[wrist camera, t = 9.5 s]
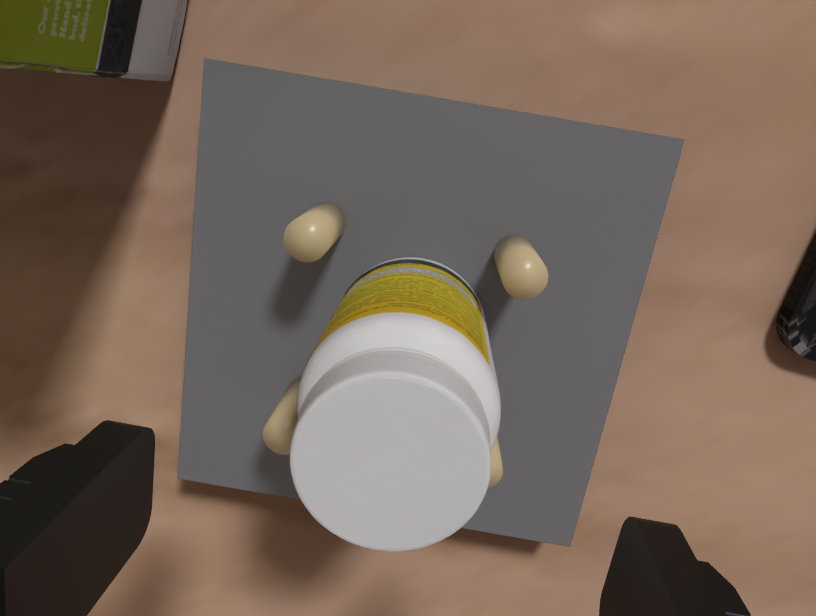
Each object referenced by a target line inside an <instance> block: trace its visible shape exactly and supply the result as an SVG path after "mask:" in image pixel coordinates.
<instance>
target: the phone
mask: <svg viewBox="0 0 816 616" xmlns="http://www.w3.org/2000/svg"><path fill="white" fill-rule="evenodd" d="M776 322H777V333H778V335H779V337H780V340H781V341H782V342H783V343H784V344H785V345H786V346H787V347H788V348H790V349H791V350H793V351H794V352H796V353H797V354H799V355H800V356H803V357H805V358H807V359H809V360H813V361H816V235H815V237H814V239H813V241H812V243H811V246H810V248H809V250H808V252H807V254H806V256H805V258H804V260H803V262H802V265H801V267H800V269H799V271H798V273H797V275H796V277H795V279H794V282H793V284H792V286H791V288H790V290H789V292H788V294H787V296H786V299H785V301H784V303H783V305H782V307H781V309H780V311H779V315H778V318H777V321H776Z"/></svg>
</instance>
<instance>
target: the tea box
mask: <svg viewBox="0 0 816 616" xmlns="http://www.w3.org/2000/svg"><path fill="white" fill-rule="evenodd" d="M186 7H187V0H0V68H2V69H26V70H37V71H48V72H55V73H69V74H81V75H87V76H101V77H113V78H128V79H138V80H154V81H169V80H170V79H171V77H172V74H173V69H174V65H175V61H176V57H177V52H178V48H179V43H180V38H181V33H182V28H183V23H184V18H185V12H186Z"/></svg>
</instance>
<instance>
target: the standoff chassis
mask: <svg viewBox="0 0 816 616" xmlns="http://www.w3.org/2000/svg"><path fill="white" fill-rule="evenodd" d="M683 143H684V139H678V138H672V137H666V136H660V135H654V134H648V133H642V132H636V131H631V130H625V129H619V128H613V127H607V126H601V125H595V124H589V123H583V122H577V121H571V120H566V119H560V118H554V117H548V116H542V115H536V114H530V113H524V112H518V111H512V110H507V109H501V108H495V107H489V106H483V105H477V104H471V103H465V102H459V101H453V100H448V99H442V98H436V97H430V96H424V95H418V94H412V93H406V92H400V91H394V90H388V89H383V88H377V87H371V86H365V85H359V84H353V83H347V82H341V81H335V80H329V79H324V78H318V77H312V76H306V75H300V74H294V73H288V72H282V71H276V70H270V69H265V68H259V67H253V66H247V65H241V64H235V63H229V62H223V61H217V60H211V59H206V58H204V67H203V83H202V99H201V115H200V131H199V147H198V163H197V178H196V194H195V210H194V226H193V242H192V258H191V274H190V289H189V305H188V321H187V337H186V353H185V369H184V385H183V400H182V416H181V432H180V448H179V464H178V479H183V480H189V481H195V482H201V483H206V484H212V485H218V486H224V487H229V488H235V489H241V490H246V491H252V492H258V493H264V494H269V495H275V496H281V497H287V498H292V499H298V500H301V499H300V497H299V495H298V493H297V491H296V488H295V485H294V483H293V479H292V475H291V469H290V445H291V440H292V436H293V432H294V430H295V427H296V424H297V421H298V411H297V398H298V390H299V385H300V381H301V377H302V375H303V372H304V369H305V367H306V364H307V362H308V360H309V358H310V355H311V354H312V352H313V351H314V349H315V347H316V345H317V344H318V342H319V340H320V338H321V336H322V334H323V332H324V331H325V329H326V327H327V325H328V324H329V322H330V320H331V318H332V316H333V314H334V313H335V311H336V309H337V307H338V306H339V304H340V302H341V300H342V298H343V296H344V294H345V293H346V291H347V290H348V288H349V287H350V286H351V285H352V284H353V283H354V281H355V280H356V279H357V278H358V277H359V276H361V275H362V274H363V273H364V272H366V271H367V270H369V269H370V268H372V267H374V266H376V265H378V264H380V263H383V262H385V261H388V260H392V259H397V258H407V257H416V258H424V259H428V260H433V261H435V262H438V263H441V264H443V265H445V266H447V267H449V268H450V269H452V270H453V271H455V272H456V273H458V274H459V275H460V276H461V277H462V278H463V279H464V280H465V281H466V282H467V283H468V284H469V285H470V287H471V288H472V289H473V291H474V292H475V294H476V296H477V297H478V299H479V301H480V303H481V306H482V308H483V311H484V315H485V320H486V323H487V329H488V336H489V341H490V346H491V352H492V357H493V362H494V367H495V371H496V376H497V381H498V386H499V391H500V399H501V419H500V425H499V431H498V435H497V438H496V441H495V444H494V446H493V449H492V451H491V459H492V464H491V476H490V481H489V485H488V489H487V492H486V494H485V497H484V498H483V500H482V502H481V504H480V506H479V508H478V510H477V511H476V512H475V514H474V515H473V516H472V517H471V519H470V520H469V521H468V522H467V523H466V524H465V525H464V526H462V527H461V528H464V529H470V530H476V531H481V532H487V533H493V534H498V535H504V536H510V537H516V538H521V539H527V540H533V541H539V542H544V543H550V544H556V545H561V546H567V547H570V545H571V542H572V538H573V535H574V531H575V527H576V524H577V520H578V517H579V513H580V510H581V506H582V502H583V499H584V495H585V492H586V488H587V485H588V481H589V478H590V474H591V470H592V467H593V463H594V460H595V456H596V453H597V449H598V445H599V442H600V438H601V435H602V431H603V428H604V424H605V421H606V417H607V413H608V410H609V406H610V403H611V399H612V396H613V392H614V389H615V385H616V381H617V378H618V374H619V371H620V367H621V364H622V360H623V356H624V353H625V349H626V346H627V342H628V339H629V335H630V332H631V328H632V324H633V321H634V317H635V314H636V310H637V307H638V303H639V299H640V296H641V292H642V289H643V285H644V282H645V278H646V275H647V271H648V267H649V264H650V260H651V257H652V253H653V250H654V246H655V242H656V239H657V235H658V232H659V228H660V225H661V221H662V218H663V214H664V210H665V207H666V203H667V200H668V196H669V193H670V189H671V185H672V182H673V178H674V175H675V171H676V168H677V164H678V161H679V157H680V153H681V150H682V146H683Z"/></svg>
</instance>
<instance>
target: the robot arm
mask: <svg viewBox="0 0 816 616" xmlns="http://www.w3.org/2000/svg"><path fill="white" fill-rule="evenodd" d="M154 454H155V435H154V432H153V430H152V429H151V428H147V427H142V426H136V425H131V424H125V423H120V422H114V421H109V420H106V421H103V422H102V423H100V424H99V425H98V426H97V427H96V428H94V429H93V430H92V431H91V432H90V433H89V434H87V435H86V436H85V437H84V438H83V439H82V440H80V441H79V442H78V443H77V444H76V445H71V444H63V445H61V446H58V447H56V448H54V449H51V450H49V451H47V452H44V453H42V454H40V455H37V456H35V457H33V458H32V459H30V460H29V461H28V462H27V463H25V464H24V465H23V466H22V467H20V468H19V469H18V470H17V471H15V472H14V473H13V474H12V475H10V476H9V480H8V481H7V480H4V481H3V482H2V483H0V616H87V615H88V613H89V612H90V611H91V609H92V608H93V606H94V605H95V604H96V602H97V601H98V600H99V598H100V597H101V596H102V594H103V593H104V592H105V590H106V589H107V588H108V586H109V585H110V584H111V582H112V581H113V580H114V578H115V577H116V576H117V574H118V573H119V571H120V570H121V569H122V567H123V566H124V565H125V563H126V562H127V561H128V559H129V558H130V557H131V555H132V554H133V553H134V551H135V550H136V549H137V547H138V546H139V544H140V542H141V541H142V539H143V537H144V535H145V532H146V530H147V527H148V524H149V520H150V516H151V510H152V495H153V474H154ZM750 615H751V614H750V613H749V611H748V609H747V608H746V606H745V604H744V603H743V601H742V599H741V598H740V596H739V594H738V593H737V591H736V589H735V588H734V587H733V586H732V585H731V584H730V583H729V582H728V581H727V580H726V579H725V578H724V577H723V576H722V575H721V574H720V573H719V572H718V571H717V570H716V569H714V568H713V567H712V566H711V565H710V564H709V563H708V562H703V561H697V559H696V557H695V555H694V554H693V552H692V550H691V548H690V546H689V544H688V543H687V541H686V539H685V537H684V535H683V533H682V532H681V530H680V528H679V527H678V526H677V525H674V524H669V523H663V522H658V521H652V520H647V519H641V518H636V517H628V518H627V519H626V520H625V522H624V523H623V525H622V528H621V531H620V534H619V538H618V541H617V544H616V548H615V551H614V554H613V557H612V561H611V564H610V567H609V570H608V574H607V577H606V580H605V584H604V587H603V590H602V594H601V599H600V610H599V616H750Z"/></svg>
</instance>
